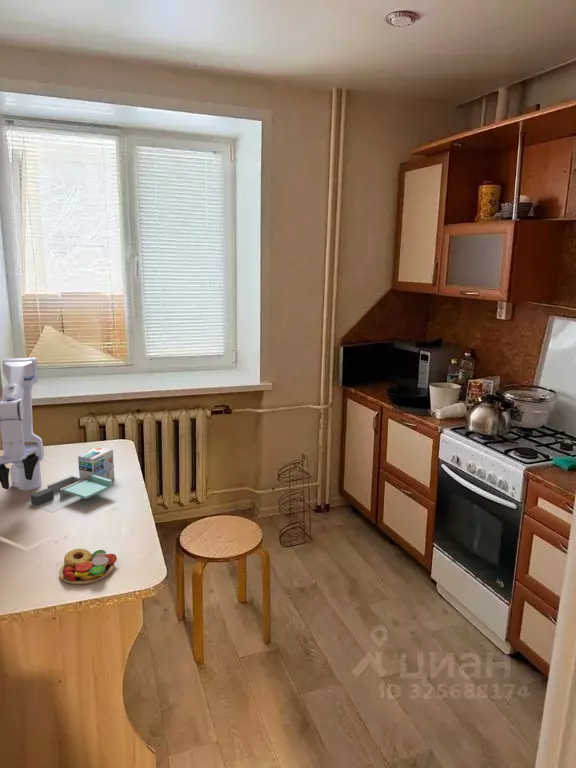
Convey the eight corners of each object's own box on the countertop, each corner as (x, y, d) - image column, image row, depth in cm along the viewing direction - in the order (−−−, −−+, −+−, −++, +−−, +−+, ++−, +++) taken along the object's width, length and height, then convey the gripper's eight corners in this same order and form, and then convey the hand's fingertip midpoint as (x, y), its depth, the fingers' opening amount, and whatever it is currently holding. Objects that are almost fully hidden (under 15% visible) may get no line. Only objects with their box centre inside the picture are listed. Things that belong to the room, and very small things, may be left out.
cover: (86, 498, 166) (85, 491, 165) (63, 491, 170) (63, 484, 170) (112, 486, 175) (112, 480, 174) (90, 480, 179) (90, 473, 179)
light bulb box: (95, 489, 182) (93, 458, 180) (79, 485, 185) (76, 456, 182) (115, 477, 192) (113, 448, 190) (99, 474, 194) (98, 446, 192)
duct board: (24, 504, 170) (23, 493, 169) (72, 485, 185) (71, 474, 184) (52, 514, 163) (51, 503, 163) (99, 493, 179) (98, 482, 178)
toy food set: (69, 558, 141) (68, 546, 140) (120, 556, 142) (120, 545, 142) (52, 588, 128) (51, 576, 127) (109, 586, 129) (108, 574, 129)
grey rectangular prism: (31, 503, 169) (30, 495, 168) (48, 496, 174) (47, 488, 173) (37, 506, 167) (36, 497, 167) (53, 498, 172) (53, 490, 172)
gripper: (-2, 450, 150) (3, 495, 153) (43, 436, 163) (47, 478, 166) (-18, 445, 154) (-12, 490, 157) (28, 432, 166) (32, 473, 169)
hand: (17, 483), depth 161 cm, fingers open, 7 cm apart
